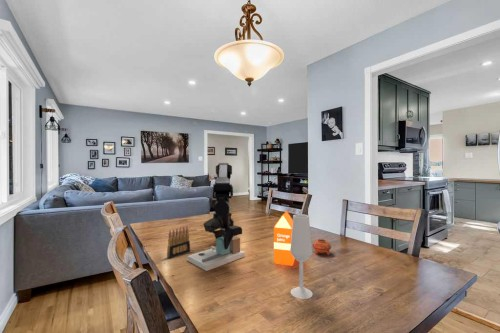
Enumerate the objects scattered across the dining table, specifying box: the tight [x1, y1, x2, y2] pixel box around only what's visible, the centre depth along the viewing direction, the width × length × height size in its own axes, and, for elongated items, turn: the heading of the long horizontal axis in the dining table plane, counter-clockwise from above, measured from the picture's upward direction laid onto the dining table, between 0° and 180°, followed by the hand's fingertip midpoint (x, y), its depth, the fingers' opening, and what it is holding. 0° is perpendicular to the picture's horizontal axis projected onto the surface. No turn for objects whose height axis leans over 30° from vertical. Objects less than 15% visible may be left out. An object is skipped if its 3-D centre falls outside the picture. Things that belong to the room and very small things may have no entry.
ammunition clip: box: [166, 225, 191, 259], centre depth 106 cm, size 11×2×12 cm, turn 141°
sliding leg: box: [210, 237, 230, 255], centre depth 102 cm, size 4×10×7 cm, turn 45°
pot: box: [312, 238, 332, 256], centre depth 107 cm, size 8×8×7 cm
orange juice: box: [273, 210, 296, 267], centre depth 99 cm, size 8×9×20 cm
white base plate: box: [186, 235, 246, 272], centre depth 101 cm, size 20×14×8 cm
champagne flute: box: [290, 213, 313, 300], centre depth 74 cm, size 7×7×24 cm
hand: (222, 247), depth 100 cm, fingers closed on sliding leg, 4 cm apart
